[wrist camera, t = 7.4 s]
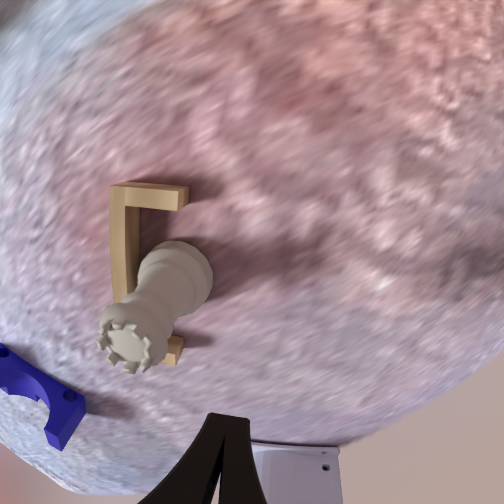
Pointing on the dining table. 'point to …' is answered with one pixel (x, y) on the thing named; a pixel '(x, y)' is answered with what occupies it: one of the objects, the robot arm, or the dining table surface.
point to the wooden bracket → (138, 238)
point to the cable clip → (43, 396)
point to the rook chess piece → (155, 305)
